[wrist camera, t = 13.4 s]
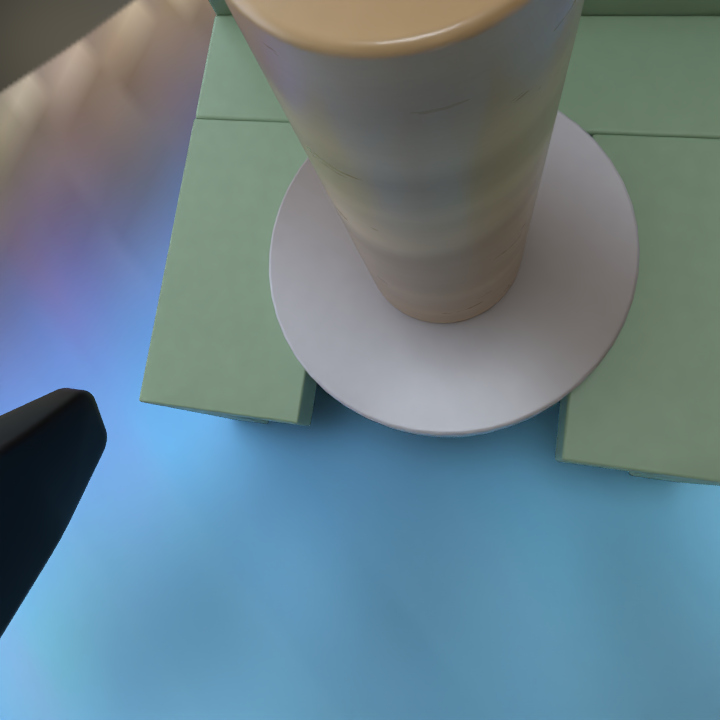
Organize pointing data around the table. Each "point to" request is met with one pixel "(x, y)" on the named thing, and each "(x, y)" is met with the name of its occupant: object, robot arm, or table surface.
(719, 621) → the table surface
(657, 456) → the rack
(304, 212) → the cylinder on round base
